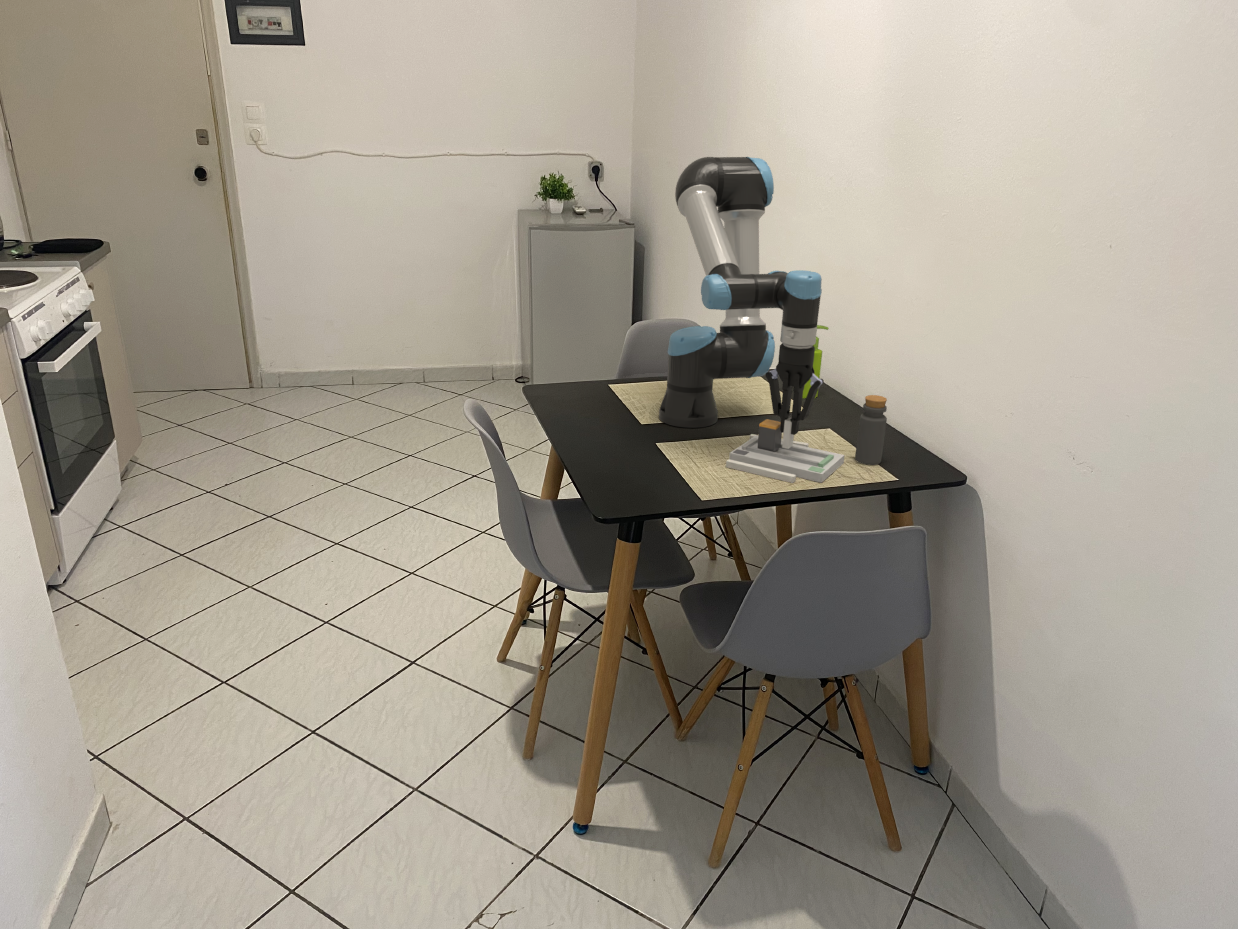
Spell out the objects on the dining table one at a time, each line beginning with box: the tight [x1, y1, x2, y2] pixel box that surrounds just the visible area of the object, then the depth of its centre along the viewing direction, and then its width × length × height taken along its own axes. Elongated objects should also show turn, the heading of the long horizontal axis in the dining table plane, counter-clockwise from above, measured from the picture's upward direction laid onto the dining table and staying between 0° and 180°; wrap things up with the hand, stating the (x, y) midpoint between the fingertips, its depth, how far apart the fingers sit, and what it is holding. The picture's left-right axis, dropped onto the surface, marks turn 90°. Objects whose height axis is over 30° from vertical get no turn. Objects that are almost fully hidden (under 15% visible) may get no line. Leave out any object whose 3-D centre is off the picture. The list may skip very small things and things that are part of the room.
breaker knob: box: [758, 418, 783, 452], centre depth 201 cm, size 4×4×6 cm
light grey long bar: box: [725, 458, 797, 484], centre depth 194 cm, size 16×1×1 cm, turn 57°
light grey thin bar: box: [748, 433, 809, 447], centre depth 211 cm, size 14×1×1 cm, turn 65°
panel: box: [728, 436, 845, 483], centre depth 200 cm, size 22×14×3 cm, turn 57°
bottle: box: [854, 394, 888, 466], centre depth 200 cm, size 6×6×15 cm
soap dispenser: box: [802, 324, 830, 399], centre depth 245 cm, size 6×7×20 cm
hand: (787, 446), depth 200 cm, fingers closed
